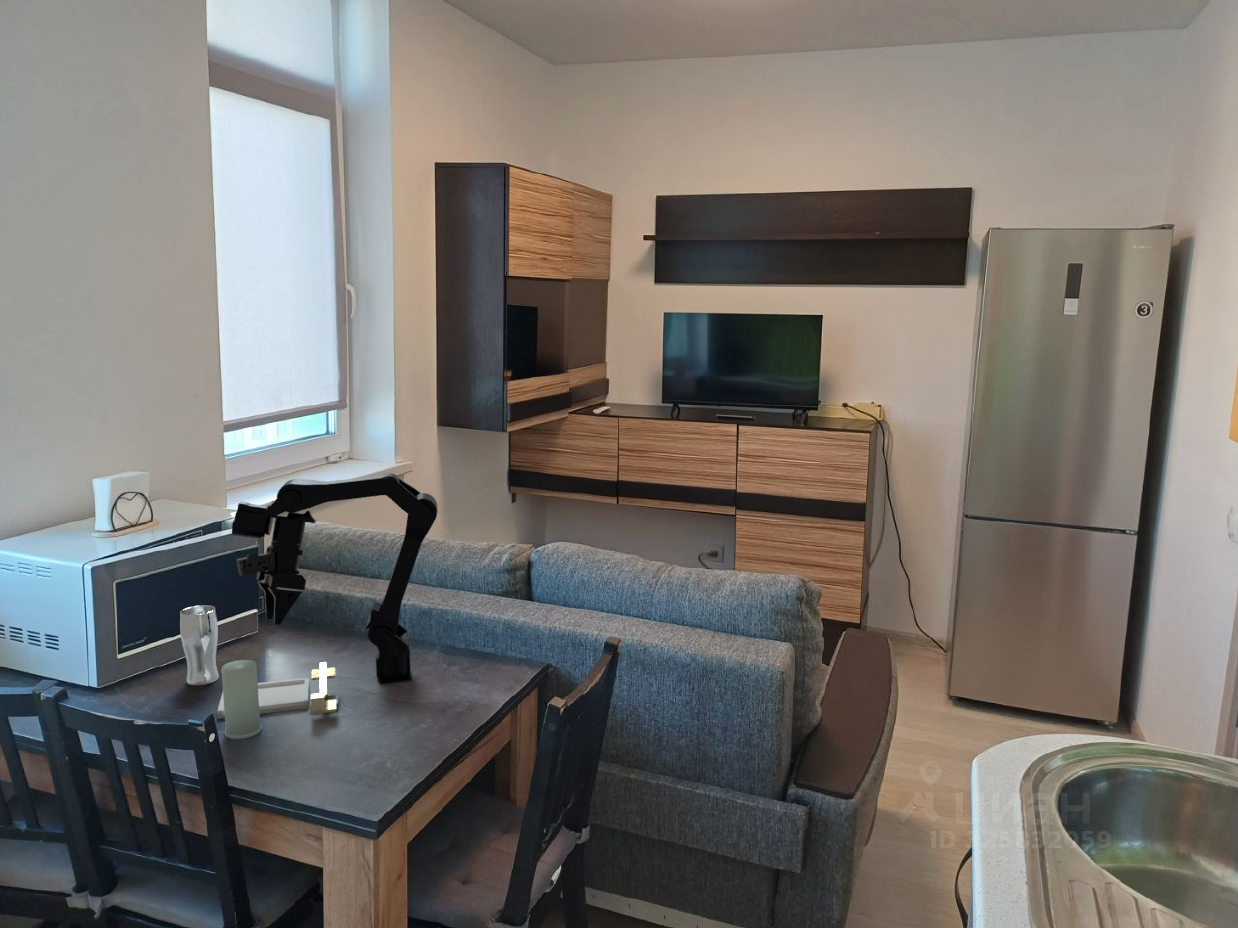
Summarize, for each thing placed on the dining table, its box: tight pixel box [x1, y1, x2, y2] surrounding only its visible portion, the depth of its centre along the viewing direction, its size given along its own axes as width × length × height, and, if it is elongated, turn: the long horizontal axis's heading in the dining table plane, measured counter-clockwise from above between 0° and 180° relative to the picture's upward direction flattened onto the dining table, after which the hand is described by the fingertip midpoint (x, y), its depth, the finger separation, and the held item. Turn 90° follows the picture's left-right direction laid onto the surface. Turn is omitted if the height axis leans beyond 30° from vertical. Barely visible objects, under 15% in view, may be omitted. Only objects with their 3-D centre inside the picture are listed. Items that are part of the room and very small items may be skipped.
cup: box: [220, 659, 263, 740], centre depth 164 cm, size 6×6×12 cm
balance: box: [310, 661, 339, 715], centre depth 175 cm, size 5×15×7 cm, turn 18°
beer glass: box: [179, 604, 220, 686], centre depth 187 cm, size 7×7×15 cm
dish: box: [217, 677, 310, 720], centre depth 178 cm, size 16×12×2 cm
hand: (272, 621), depth 180 cm, fingers open, 9 cm apart
